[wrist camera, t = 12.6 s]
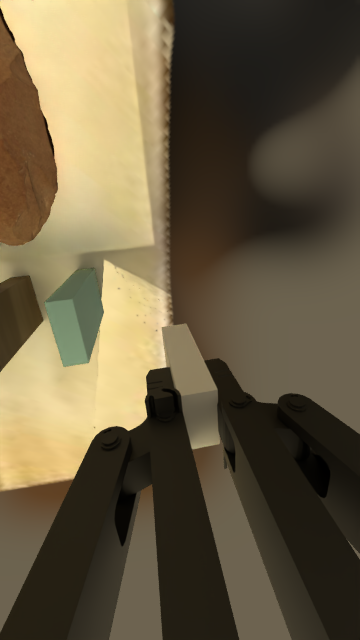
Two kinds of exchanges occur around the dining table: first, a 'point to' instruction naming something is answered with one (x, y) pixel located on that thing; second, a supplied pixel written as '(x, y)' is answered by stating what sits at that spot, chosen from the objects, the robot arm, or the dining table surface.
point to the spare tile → (76, 316)
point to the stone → (22, 149)
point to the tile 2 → (17, 316)
